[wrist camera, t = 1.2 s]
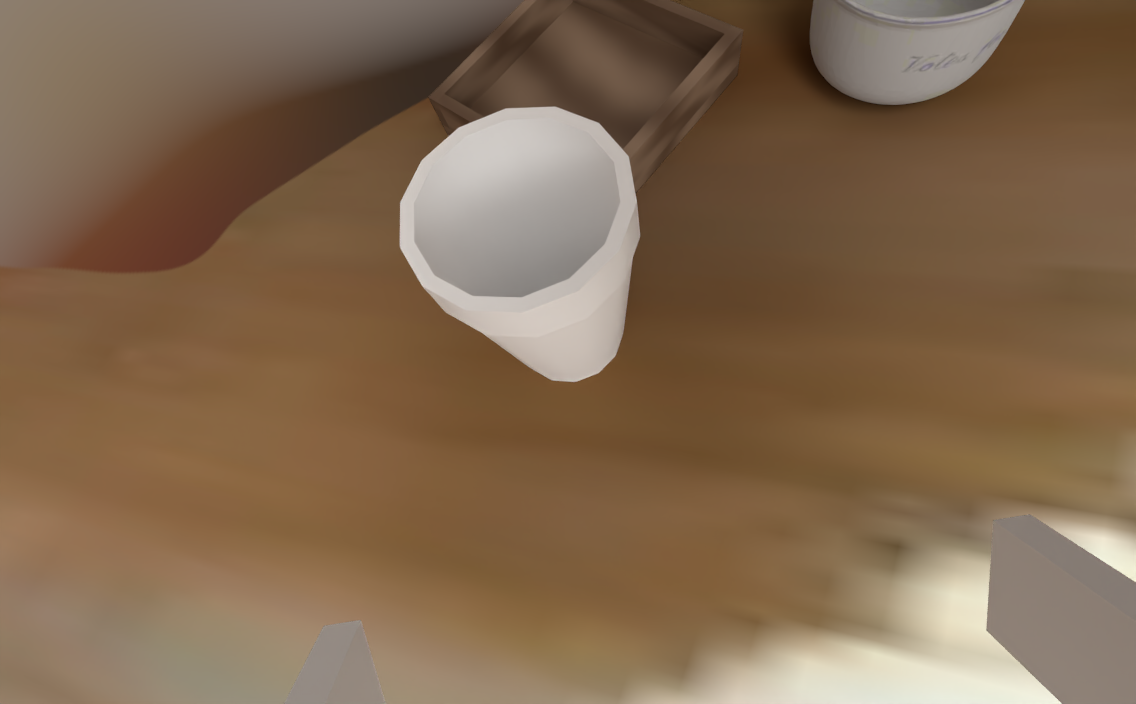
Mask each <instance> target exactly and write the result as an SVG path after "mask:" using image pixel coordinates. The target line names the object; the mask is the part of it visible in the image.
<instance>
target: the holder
mask: <svg viewBox="0 0 1136 704" xmlns="http://www.w3.org/2000/svg"><path fill="white" fill-rule="evenodd" d="M742 36H743V30H742V29H740V28H737V27H735V26H733V25H730V24H728V23H725V22H723V21H720V20H718V19H715V18H713V17H710V16H708V15H705V14H703V13H700V12H698V11H695V10H693V9H691V8H688V7H686V6H683V5H681V4H678V3H676V2H673V1H671V0H524V1H523V2H522V3H521V4H520V5H519V6H518V7H517V8H516V9H515V10H514V11H513V12H512V13H511V14H510V15H509V16H508V17H507V18H506V19H505V20H504V21H503V22H502V23H501V24H500V25H499V26H498V27H497V28H496V29H495V31H493V32H492V33H491V34H490V35H489V36H488V37H487V38H486V39H485V40H484V41H483V42H482V43H481V45H480V46H478V47H477V48H476V50H475V51H473V53H472V54H471V55H470V56H469V57H468V58H467V59H466V60H465V61H464V62H463V63H462V64H461V65H460V66H459V67H458V68H457V69H456V70H455V71H454V72H453V73H452V74H451V75H450V76H449V77H448V78H447V79H446V80H445V81H444V82H443V83H442V84H441V85H440V86H439V87H438V88H437V89H436V90H435V91H434V92H433V93H432V94H431V95H430V96H429V97H428V98H429V100H430V102H431V104H432V105H433V107H434V109H435V111H436V113H437V115H438V117H439V119H440V121H441V123H442V125H443V127H444V128H445V130H446V132H447V134H448V135H451V134H452V133H453V132H454V131H455V130H456V129H458V128H459V127H461V126H464V125H466V124H469V123H471V122H473V121H476V120H478V119H481V118H483V117H486V116H488V115H491V114H493V113H496V112H498V111H501V110H503V109H506V108H530V107H558V108H560V109H563V110H566V111H568V112H571V113H574V114H576V115H579V116H582V117H584V118H587V119H590V120H592V121H595V122H598V123H599V124H600V125H601V126H602V127H603V128H604V129H605V130H606V131H607V133H608V134H609V135H610V136H611V137H612V138H613V139H614V140H615V142H616V143H617V144H618V145H619V146H620V147H621V148H622V149H623V151H624V152H625V153H626V154H627V155H628V156H629V161H630V166H631V172H632V177H633V183H634V188H635V193H636V192H637V191H638V190H639V189H640V188H641V186H642V185H643V184H644V183H645V182H646V181H647V179H648V178H649V177H650V176H651V175H652V174H653V172H654V171H655V170H656V169H657V168H658V167H659V165H660V164H661V163H662V162H663V161H664V160H665V158H666V157H667V156H668V155H669V154H670V153H671V152H672V150H673V149H674V148H675V147H676V146H677V145H678V143H679V142H680V141H681V140H682V139H683V138H684V136H685V135H686V134H687V133H688V132H689V131H690V129H691V128H692V127H693V126H694V125H695V124H696V122H697V121H698V120H699V119H700V118H701V117H702V116H703V114H704V113H705V112H706V111H707V110H708V109H709V107H710V106H711V105H712V104H713V103H714V102H715V100H716V99H717V98H718V97H719V96H720V95H721V93H722V92H723V91H724V90H725V89H726V88H727V86H728V85H729V84H730V83H731V82H732V81H733V80H734V78H735V77H736V76H737V74H738V66H739V58H740V51H741V43H742Z"/></svg>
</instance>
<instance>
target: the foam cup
mask: <svg viewBox="0 0 1136 704" xmlns="http://www.w3.org/2000/svg"><path fill="white" fill-rule="evenodd" d="M639 239H640V228H639V218H638V208H637V199H636V194H635V188H634V183H633V177H632V172H631V166H630V161H629V156H628V155H627V154H626V153H625V152H624V151H623V149H622V148H621V147H620V146H619V145H618V144H617V143H616V142H615V140H614V139H613V138H612V137H611V136H610V135H609V134H608V133H607V131H606V130H605V129H604V128H603V127H602V126H601V125H600V124H599V123H598V122H595V121H592V120H590V119H587V118H584V117H582V116H579V115H576V114H574V113H571V112H568V111H566V110H563V109H560V108H558V107H530V108H506V109H503V110H501V111H498V112H496V113H493V114H491V115H488V116H486V117H483V118H481V119H478V120H476V121H473V122H471V123H469V124H466V125H464V126H461V127H459V128H458V129H456V130H455V131H454V132H453V133H452V134H451V135H450V136H449V137H447V138H446V139H445V140H444V141H443V142H442V143H441V144H440V145H438V146H437V147H436V148H435V149H434V150H433V151H432V152H431V153H429V154H428V155H427V156H426V157H425V158H424V159H423V160H422V161H421V163H420V165H419V167H418V169H417V170H416V172H415V174H414V176H413V178H412V180H411V182H410V184H409V186H408V188H407V190H406V192H405V194H404V196H403V198H402V200H401V202H400V248H401V250H402V252H403V254H404V255H405V257H406V259H407V260H408V262H409V264H410V266H411V267H412V269H413V271H414V272H415V274H416V276H417V278H418V279H419V281H420V283H421V285H422V286H423V287H424V289H425V290H426V291H427V292H428V293H429V294H430V295H431V296H432V298H433V299H434V300H435V301H436V302H437V303H438V304H439V305H440V306H441V308H442V309H443V310H444V311H445V312H446V313H448V314H449V315H451V316H453V317H455V318H457V319H458V320H460V321H462V322H464V323H465V324H467V325H469V326H471V327H472V328H474V329H476V330H478V331H480V332H481V333H483V334H484V335H486V336H487V337H488V338H490V339H491V340H492V341H494V342H495V343H497V344H498V345H499V346H501V347H502V348H503V349H505V350H506V351H508V352H509V353H510V354H512V355H513V356H514V357H516V358H517V359H519V360H520V361H521V362H523V363H524V364H525V365H527V366H528V367H530V368H532V369H533V370H535V371H536V372H538V373H540V374H542V375H543V376H545V377H547V378H549V379H550V380H553V381H569V382H577V381H579V380H582V379H585V378H587V377H590V376H592V375H595V374H598V373H599V372H600V371H601V370H602V369H603V368H604V367H605V366H606V365H607V364H608V363H609V362H610V361H611V360H612V359H613V358H614V357H615V356H616V353H617V350H618V347H619V344H620V341H621V339H622V336H623V331H624V324H625V316H626V308H627V300H628V292H629V284H630V276H631V268H632V260H633V256H634V253H635V250H636V247H637V244H638V241H639Z"/></svg>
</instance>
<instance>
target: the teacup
mask: <svg viewBox="0 0 1136 704" xmlns="http://www.w3.org/2000/svg"><path fill="white" fill-rule="evenodd" d="M1024 1H1025V0H814V1H813V8H812V15H811V24H810V47H811V53H812V57H813V60H814V63H815V65H816V67H817V68H818V70H819V72H820V73H821V75H822V76H823V77H824V78H825V79H826V80H827V81H828V82H829V83H830V84H831V85H832V86H833V87H835V88H836V89H837V90H839V91H840V92H842V93H844V94H846V95H848V96H850V97H853V98H855V99H858V100H862V101H865V102H869V103H874V104H884V105H899V104H909V103H916V102H921V101H925V100H928V99H931V98H934V97H937V96H940V95H942V94H944V93H946V92H948V91H950V90H952V89H954V88H955V87H957V86H959V85H960V84H962V83H963V82H965V81H966V80H967V79H969V78H970V77H971V76H972V75H973V74H974V73H975V72H976V71H977V70H978V69H980V68H981V67H982V66H983V64H984V63H985V62H986V61H987V60H988V58H989V57H990V56H991V54H992V53H993V52H994V50H995V49H996V48H997V46H998V45H999V43H1000V42H1001V40H1002V38H1003V37H1004V35H1005V34H1006V32H1007V30H1008V29H1009V27H1010V25H1011V24H1012V22H1013V20H1014V18H1015V17H1016V15H1017V13H1018V12H1019V10H1020V8H1021V6H1022V5H1023V3H1024Z"/></svg>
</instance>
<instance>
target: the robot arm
mask: <svg viewBox="0 0 1136 704" xmlns="http://www.w3.org/2000/svg"><path fill="white" fill-rule="evenodd" d="M986 630H987V631H988V632H989V633H990V634H991V635H992V636H993V637H994V638H995V639H996V640H997V641H998V642H999V643H1000V644H1001V645H1002V646H1003V647H1004V648H1005V649H1006V650H1007V651H1008V652H1009V653H1010V654H1011V655H1012V656H1013V657H1014V658H1015V659H1016V660H1018V661H1019V662H1020V663H1021V664H1022V665H1023V666H1024V667H1025V668H1026V669H1027V670H1028V671H1029V672H1030V673H1031V674H1032V675H1033V676H1034V677H1035V678H1036V679H1037V680H1038V681H1039V682H1040V683H1041V684H1042V685H1043V686H1044V687H1045V688H1046V689H1048V690H1049V691H1050V692H1051V693H1052V694H1053V695H1054V696H1055V697H1056V698H1057V699H1058V700H1059V701H1060V702H1061V703H1062V704H1136V582H1134V581H1133V580H1131V579H1129V578H1128V577H1126V576H1125V575H1123V574H1122V573H1120V572H1119V571H1117V570H1115V569H1114V568H1112V567H1111V566H1109V565H1108V564H1106V563H1105V562H1103V561H1101V560H1100V559H1098V558H1097V557H1095V556H1094V555H1092V554H1091V553H1089V552H1087V551H1086V550H1084V549H1083V548H1081V547H1080V546H1078V545H1077V544H1075V543H1074V542H1072V541H1070V540H1069V539H1067V538H1066V537H1064V536H1063V535H1061V534H1060V533H1058V532H1056V531H1055V530H1053V529H1052V528H1050V527H1049V526H1047V525H1046V524H1044V523H1042V522H1041V521H1039V520H1038V519H1036V518H1035V517H1033V516H1032V515H1030V514H1029V515H1023V516H1017V517H1010V518H1004V519H998V520H993V532H992V548H991V564H990V581H989V597H988V613H987V629H986ZM284 704H386V703H385V700H384V696H383V693H382V690H381V686H380V683H379V680H378V676H377V673H376V669H375V666H374V663H373V659H372V656H371V652H370V649H369V646H368V642H367V639H366V636H365V632H364V629H363V625H362V622H361V620H358V621H352V622H345V623H339V624H333V625H326V626H323V628H322V630H321V632H320V634H319V636H318V638H317V640H316V642H315V644H314V646H313V648H312V650H311V652H310V654H309V656H308V658H307V660H306V662H305V664H304V666H303V668H302V670H301V672H300V673H299V675H298V677H297V679H296V681H295V683H294V685H293V687H292V689H291V691H290V693H289V695H288V697H287V699H286V701H285V703H284Z"/></svg>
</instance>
